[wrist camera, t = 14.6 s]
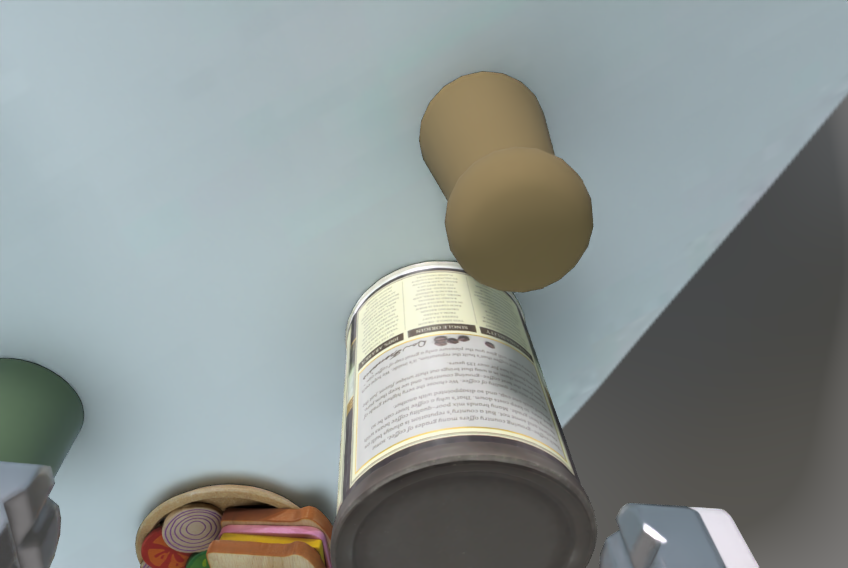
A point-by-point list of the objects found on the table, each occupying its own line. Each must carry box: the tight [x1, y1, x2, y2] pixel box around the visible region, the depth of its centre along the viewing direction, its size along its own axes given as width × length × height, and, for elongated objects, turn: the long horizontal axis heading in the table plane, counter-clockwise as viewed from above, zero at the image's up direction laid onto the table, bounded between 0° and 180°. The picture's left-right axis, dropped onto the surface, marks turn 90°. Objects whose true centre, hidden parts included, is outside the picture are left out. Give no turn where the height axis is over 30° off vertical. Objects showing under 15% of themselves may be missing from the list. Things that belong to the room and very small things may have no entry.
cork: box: [419, 71, 593, 292], centre depth 27 cm, size 6×6×11 cm
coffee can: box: [330, 261, 597, 568], centre depth 31 cm, size 10×10×14 cm
